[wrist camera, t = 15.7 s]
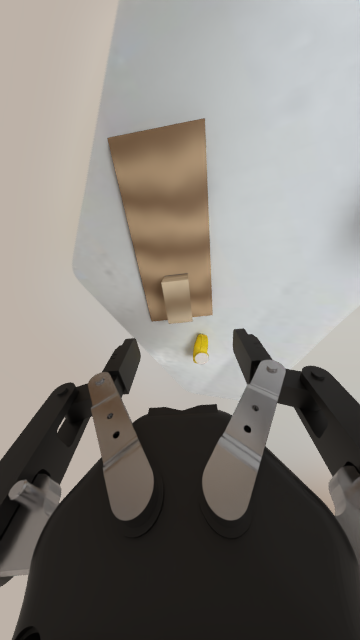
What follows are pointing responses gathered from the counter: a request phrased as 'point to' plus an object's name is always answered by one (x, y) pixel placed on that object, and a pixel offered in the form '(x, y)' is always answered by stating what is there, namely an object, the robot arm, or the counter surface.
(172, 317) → the block
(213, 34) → the counter surface
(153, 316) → the board
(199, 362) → the yellow wavy ring
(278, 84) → the counter surface
